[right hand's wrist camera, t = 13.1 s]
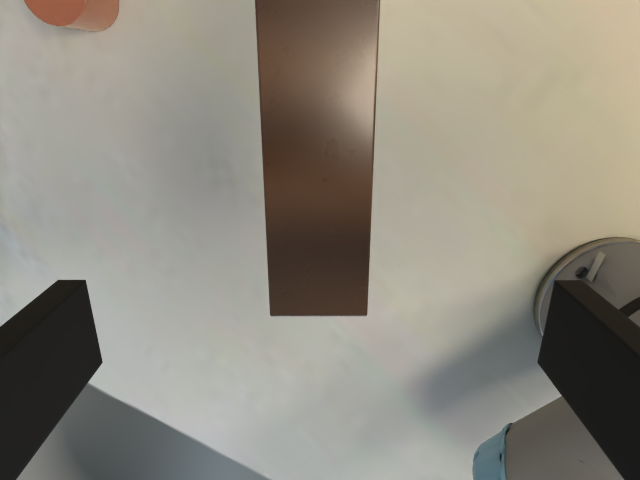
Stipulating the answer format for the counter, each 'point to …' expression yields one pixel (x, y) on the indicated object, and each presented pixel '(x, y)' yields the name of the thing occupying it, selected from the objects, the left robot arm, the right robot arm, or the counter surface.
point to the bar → (318, 151)
